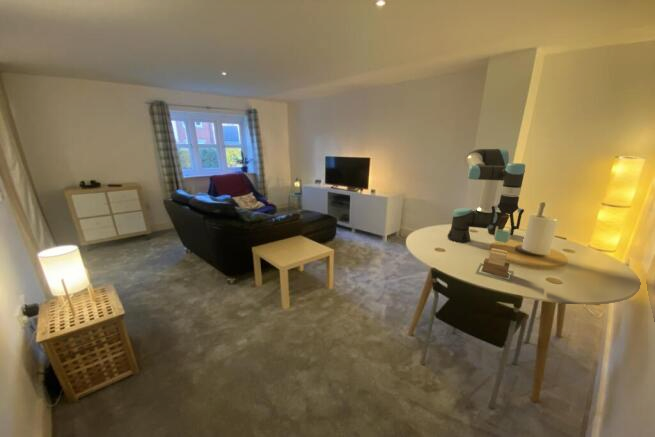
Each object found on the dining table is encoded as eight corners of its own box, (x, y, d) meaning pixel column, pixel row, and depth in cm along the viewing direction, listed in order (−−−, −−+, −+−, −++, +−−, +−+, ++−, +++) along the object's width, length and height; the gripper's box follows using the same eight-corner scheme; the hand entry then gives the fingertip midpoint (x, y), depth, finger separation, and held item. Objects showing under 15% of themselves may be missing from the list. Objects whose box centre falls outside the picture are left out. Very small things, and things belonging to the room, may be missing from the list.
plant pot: (503, 232, 205) (507, 212, 200) (507, 238, 192) (511, 217, 187) (482, 229, 211) (485, 210, 206) (484, 235, 198) (487, 215, 193)
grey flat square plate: (480, 265, 149) (480, 262, 149) (513, 273, 139) (514, 271, 139) (474, 275, 137) (475, 273, 137) (511, 285, 127) (511, 283, 127)
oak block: (490, 258, 141) (492, 248, 139) (505, 261, 137) (507, 251, 135) (488, 262, 136) (490, 252, 134) (504, 266, 131) (506, 255, 130)
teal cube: (496, 238, 136) (497, 229, 134) (507, 240, 133) (509, 231, 131) (494, 240, 132) (496, 231, 131) (506, 242, 129) (508, 233, 128)
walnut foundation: (483, 267, 143) (485, 257, 141) (507, 273, 136) (509, 263, 135) (482, 271, 139) (484, 261, 137) (506, 277, 132) (508, 267, 131)
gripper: (487, 194, 129) (480, 237, 135) (533, 198, 118) (522, 245, 124) (489, 192, 134) (482, 234, 141) (533, 196, 123) (523, 241, 130)
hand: (501, 239), depth 132 cm, fingers closed on teal cube, 5 cm apart
